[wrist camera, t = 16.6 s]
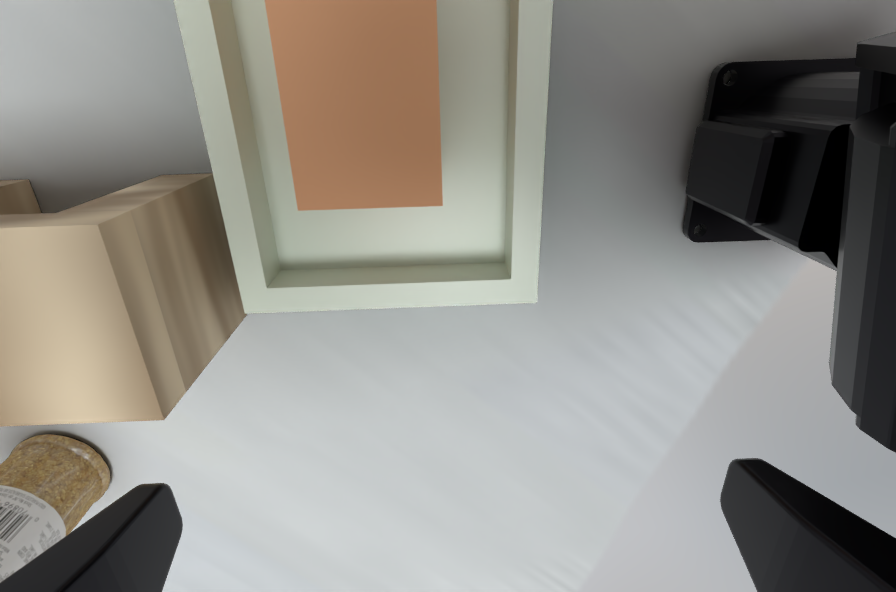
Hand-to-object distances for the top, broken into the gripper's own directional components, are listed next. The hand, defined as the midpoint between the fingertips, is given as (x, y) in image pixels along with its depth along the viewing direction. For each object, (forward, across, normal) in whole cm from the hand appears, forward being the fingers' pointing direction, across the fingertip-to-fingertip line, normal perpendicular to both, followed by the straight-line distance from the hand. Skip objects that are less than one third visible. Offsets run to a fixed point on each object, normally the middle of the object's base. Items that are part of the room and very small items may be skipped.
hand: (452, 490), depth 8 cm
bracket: (+13, +13, 0) cm, 18 cm away
